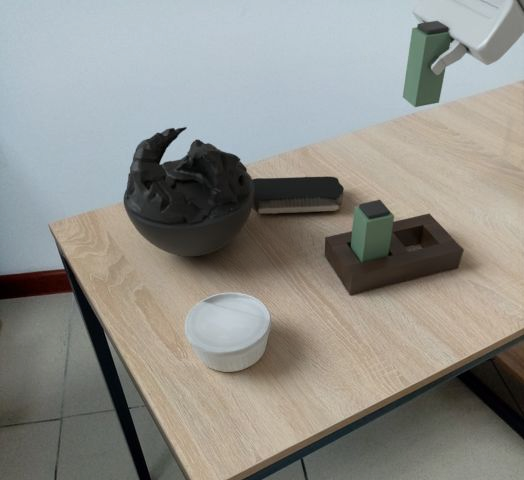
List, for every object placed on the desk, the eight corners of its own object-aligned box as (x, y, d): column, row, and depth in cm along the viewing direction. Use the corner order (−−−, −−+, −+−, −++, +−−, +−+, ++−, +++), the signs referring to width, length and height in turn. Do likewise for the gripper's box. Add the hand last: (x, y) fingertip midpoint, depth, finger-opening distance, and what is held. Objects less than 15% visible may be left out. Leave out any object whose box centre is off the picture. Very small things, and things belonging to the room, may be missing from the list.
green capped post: (426, 92, 86) (438, 18, 78) (439, 102, 84) (453, 27, 76) (402, 97, 86) (412, 23, 78) (414, 107, 83) (426, 31, 75)
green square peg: (373, 256, 84) (381, 196, 76) (385, 272, 81) (395, 212, 73) (349, 262, 83) (354, 202, 75) (360, 278, 80) (367, 218, 72)
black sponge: (249, 219, 92) (248, 200, 89) (250, 193, 98) (249, 174, 95) (343, 216, 92) (345, 197, 89) (339, 190, 97) (340, 171, 94)
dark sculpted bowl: (128, 226, 93) (98, 119, 79) (236, 200, 97) (225, 93, 83) (151, 296, 80) (120, 183, 66) (275, 263, 84) (271, 150, 70)
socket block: (458, 268, 81) (464, 249, 78) (349, 295, 78) (351, 277, 75) (425, 231, 87) (429, 213, 85) (324, 255, 84) (325, 237, 82)
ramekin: (265, 313, 76) (263, 285, 72) (279, 372, 69) (278, 344, 65) (187, 325, 75) (181, 297, 71) (193, 385, 68) (187, 358, 64)
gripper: (448, -53, 80) (381, 29, 85) (533, -20, 66) (446, 75, 72) (468, -22, 84) (402, 55, 89) (552, 15, 70) (468, 103, 76)
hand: (423, 64), depth 80 cm, fingers closed on green capped post, 4 cm apart
